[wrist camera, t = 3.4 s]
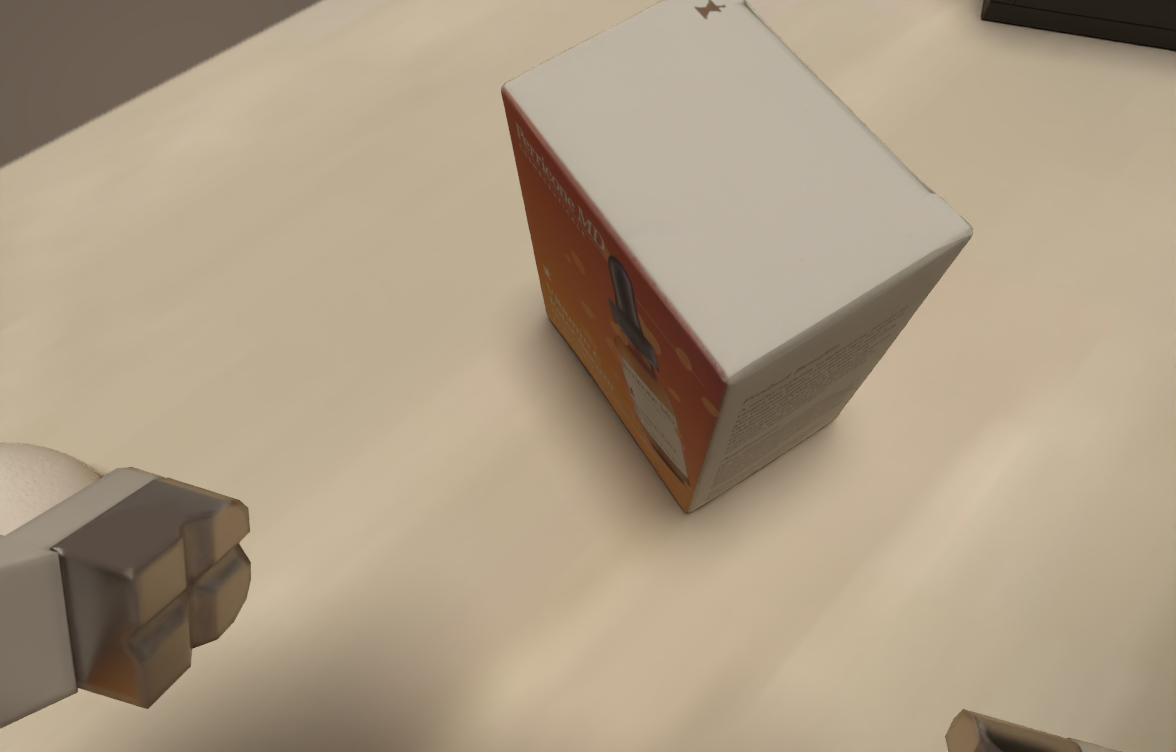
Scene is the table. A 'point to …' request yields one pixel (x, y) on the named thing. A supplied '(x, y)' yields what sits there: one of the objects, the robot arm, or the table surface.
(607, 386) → the small box
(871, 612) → the table surface
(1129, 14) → the trash bin
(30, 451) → the garlic bulb
